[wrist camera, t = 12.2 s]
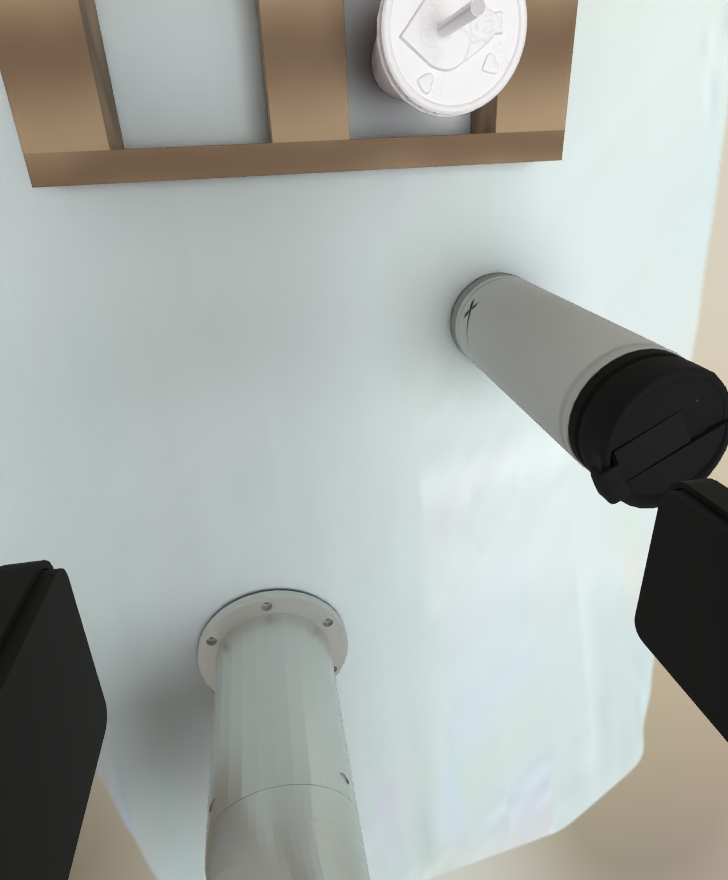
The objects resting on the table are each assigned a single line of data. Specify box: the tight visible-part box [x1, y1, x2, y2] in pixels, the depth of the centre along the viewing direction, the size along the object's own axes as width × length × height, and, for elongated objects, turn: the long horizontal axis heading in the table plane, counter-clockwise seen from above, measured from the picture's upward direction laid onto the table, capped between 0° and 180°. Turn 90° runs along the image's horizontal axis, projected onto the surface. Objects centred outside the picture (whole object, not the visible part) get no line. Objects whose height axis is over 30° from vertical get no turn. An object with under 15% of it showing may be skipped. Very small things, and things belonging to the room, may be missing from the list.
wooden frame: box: [0, 0, 578, 188], centre depth 30 cm, size 11×28×4 cm, turn 92°
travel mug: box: [451, 273, 728, 508], centre depth 32 cm, size 6×7×20 cm
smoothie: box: [372, 0, 527, 117], centre depth 27 cm, size 6×6×14 cm
